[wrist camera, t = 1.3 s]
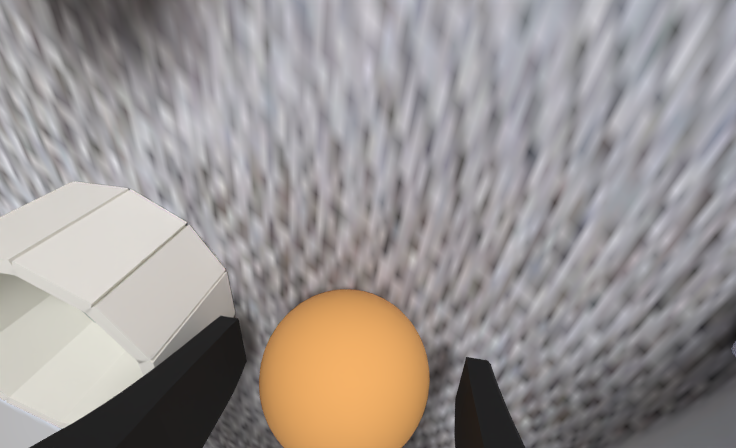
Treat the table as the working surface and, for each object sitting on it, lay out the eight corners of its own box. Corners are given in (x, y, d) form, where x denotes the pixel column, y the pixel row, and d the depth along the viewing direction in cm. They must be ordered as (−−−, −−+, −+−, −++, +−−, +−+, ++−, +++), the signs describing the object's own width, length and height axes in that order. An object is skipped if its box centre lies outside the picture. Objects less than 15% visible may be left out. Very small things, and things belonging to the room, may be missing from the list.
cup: (211, 198, 12) (118, 278, 9) (245, 363, 16) (192, 459, 13) (-1, 172, 13) (-156, 232, 10) (83, 332, 17) (-6, 413, 14)
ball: (442, 269, 12) (438, 421, 8) (423, 372, 14) (413, 527, 10) (289, 247, 12) (208, 375, 8) (299, 349, 15) (240, 486, 11)
